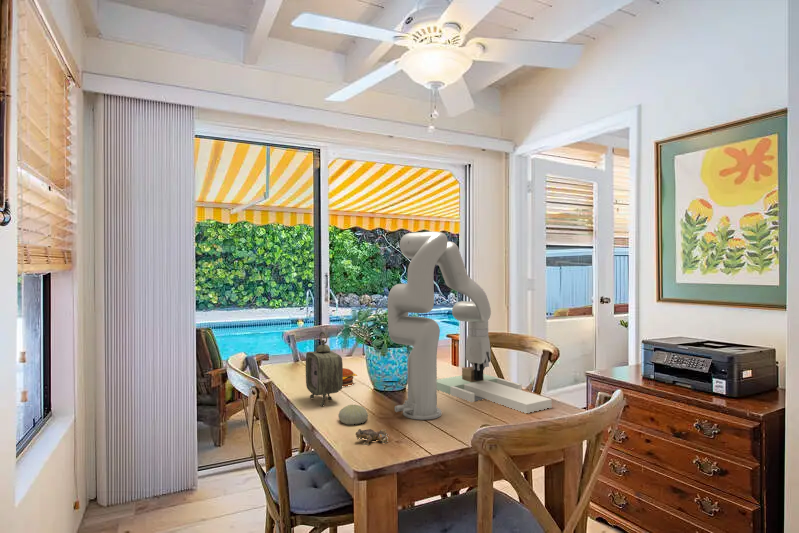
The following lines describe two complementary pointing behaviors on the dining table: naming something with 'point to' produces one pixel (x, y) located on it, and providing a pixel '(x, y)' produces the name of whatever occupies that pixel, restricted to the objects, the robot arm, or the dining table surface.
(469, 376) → the walnut block
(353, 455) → the dining table surface
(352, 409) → the sea urchin shell
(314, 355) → the tabletop clock
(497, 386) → the board
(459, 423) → the dining table surface
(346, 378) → the hamburger
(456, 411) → the dining table surface
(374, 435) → the frog figurine
